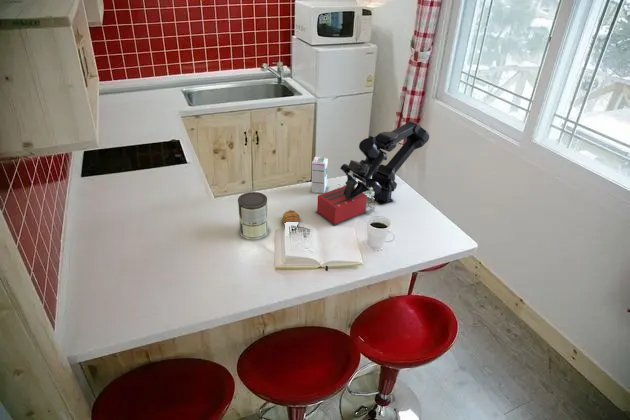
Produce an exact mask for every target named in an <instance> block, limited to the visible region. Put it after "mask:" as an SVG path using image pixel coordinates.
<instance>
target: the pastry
mask: <svg viewBox="0 0 630 420" xmlns="http://www.w3.org/2000/svg"><path fill="white" fill-rule="evenodd" d="M300 217H301V216H300V214H299V213H298V212H297V211H296V210H294V209H290V210H287V211H285V212H284V213H283V214H282V217H281V221H282V224H284V223H286V222H299V223H301V219H300Z"/></svg>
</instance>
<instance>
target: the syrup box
mask: <svg viewBox="0 0 630 420" xmlns="http://www.w3.org/2000/svg"><path fill="white" fill-rule="evenodd" d="M328 159H329V158H328V157H326V156H314V158H313V160H312V162H311V193H316V194H323V193H326V190H327V187H328V164H329V163H328V161H329V160H328Z"/></svg>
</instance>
